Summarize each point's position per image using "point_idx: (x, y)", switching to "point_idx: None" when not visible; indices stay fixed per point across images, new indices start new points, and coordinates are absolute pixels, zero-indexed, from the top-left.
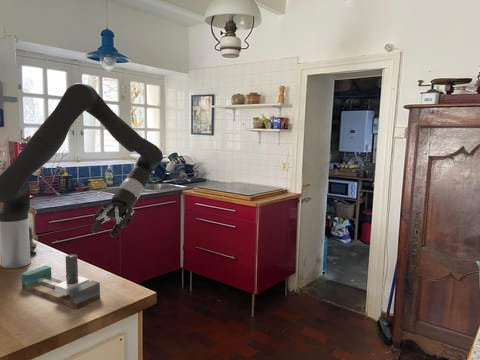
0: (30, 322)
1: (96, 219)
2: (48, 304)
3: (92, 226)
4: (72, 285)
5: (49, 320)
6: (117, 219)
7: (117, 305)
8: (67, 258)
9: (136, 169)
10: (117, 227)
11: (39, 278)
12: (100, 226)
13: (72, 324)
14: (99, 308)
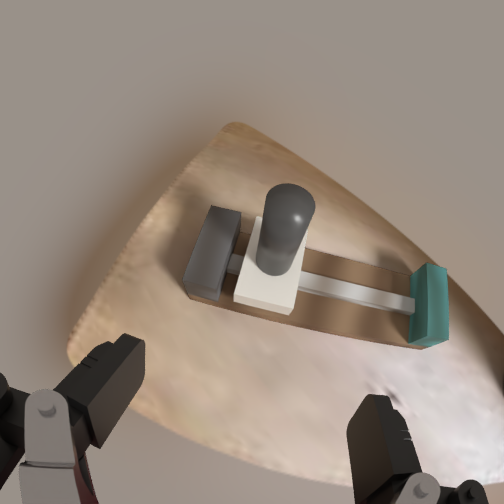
0: (271, 173)
1: (425, 477)
2: None
3: (405, 427)
4: (255, 238)
5: (240, 185)
6: (54, 451)
7: (124, 273)
8: (289, 184)
9: None
10: (66, 378)
11: (415, 304)
12: (354, 484)
13: (184, 184)
14: (161, 249)
